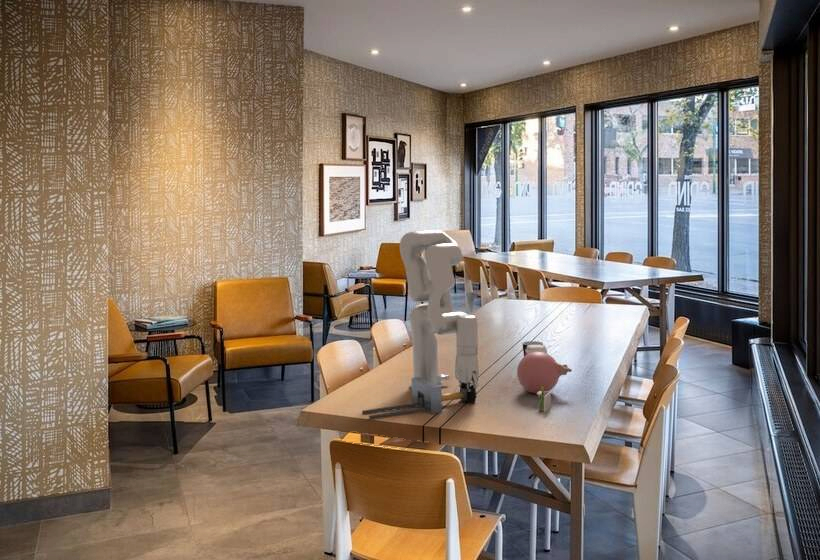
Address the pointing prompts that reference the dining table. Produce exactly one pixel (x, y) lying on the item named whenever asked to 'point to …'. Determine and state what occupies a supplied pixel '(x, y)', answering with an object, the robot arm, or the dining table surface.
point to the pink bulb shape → (540, 372)
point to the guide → (392, 412)
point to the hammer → (448, 397)
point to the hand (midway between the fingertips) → (467, 399)
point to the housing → (427, 394)
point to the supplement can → (535, 348)
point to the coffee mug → (529, 344)
